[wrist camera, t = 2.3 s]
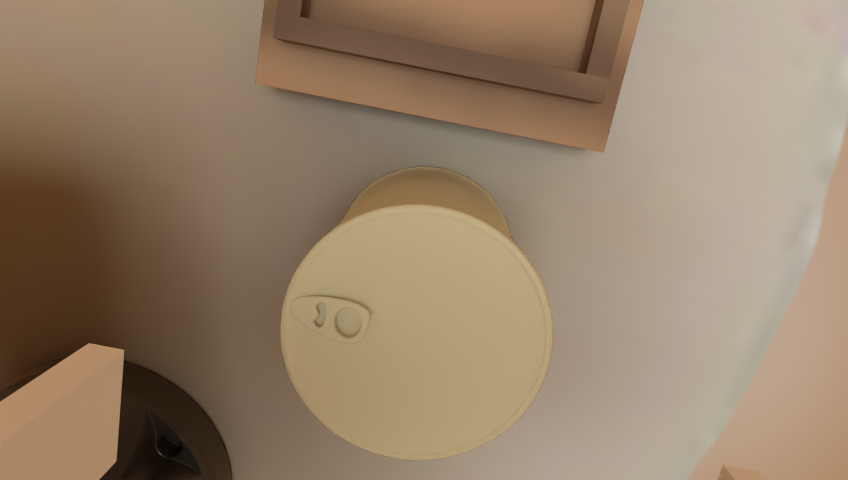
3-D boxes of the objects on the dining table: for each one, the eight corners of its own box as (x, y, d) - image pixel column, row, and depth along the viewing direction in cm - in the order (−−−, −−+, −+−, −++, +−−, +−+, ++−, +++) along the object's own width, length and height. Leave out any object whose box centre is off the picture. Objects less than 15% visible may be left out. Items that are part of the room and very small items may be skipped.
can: (361, 145, 28) (307, 170, 17) (534, 193, 29) (599, 250, 17) (321, 309, 30) (248, 433, 19) (482, 352, 31) (509, 500, 19)
